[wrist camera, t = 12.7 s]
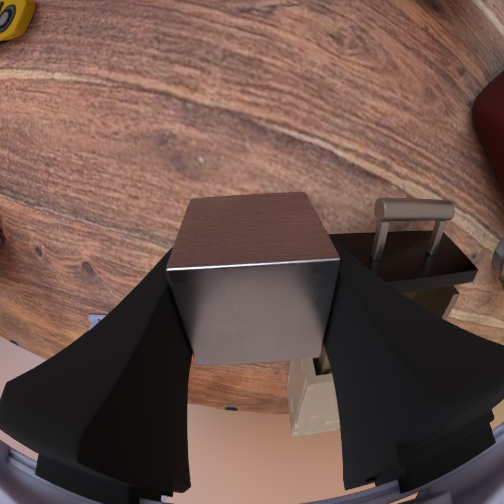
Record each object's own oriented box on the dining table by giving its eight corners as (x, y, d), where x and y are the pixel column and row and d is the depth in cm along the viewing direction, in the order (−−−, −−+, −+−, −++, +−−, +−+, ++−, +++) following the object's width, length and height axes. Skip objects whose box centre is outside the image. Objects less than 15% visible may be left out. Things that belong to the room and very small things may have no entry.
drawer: (316, 179, 17) (346, 219, 13) (453, 185, 18) (498, 219, 13) (298, 351, 28) (306, 397, 23) (398, 336, 28) (415, 375, 23)
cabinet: (295, 317, 26) (308, 384, 20) (412, 302, 26) (441, 355, 20) (286, 388, 35) (292, 436, 29) (374, 374, 35) (388, 417, 29)
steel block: (205, 285, 12) (196, 365, 8) (190, 197, 9) (164, 269, 6) (300, 279, 12) (320, 357, 8) (305, 190, 9) (341, 258, 6)
